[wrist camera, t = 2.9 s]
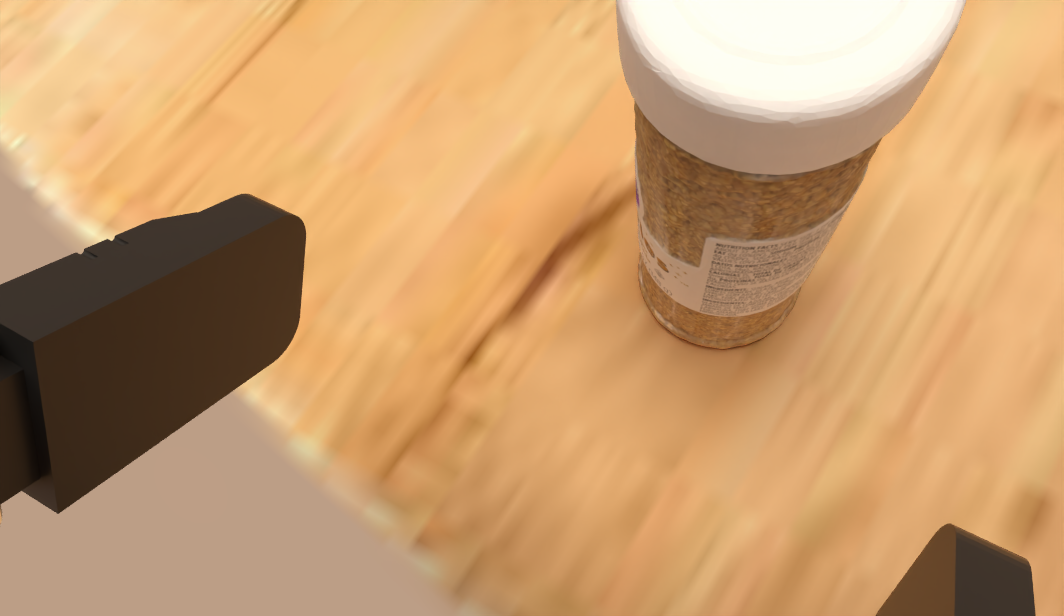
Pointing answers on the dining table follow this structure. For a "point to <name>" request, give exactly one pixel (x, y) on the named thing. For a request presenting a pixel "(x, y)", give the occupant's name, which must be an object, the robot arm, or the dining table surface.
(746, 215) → the sprinkles bottle
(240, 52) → the dining table surface
